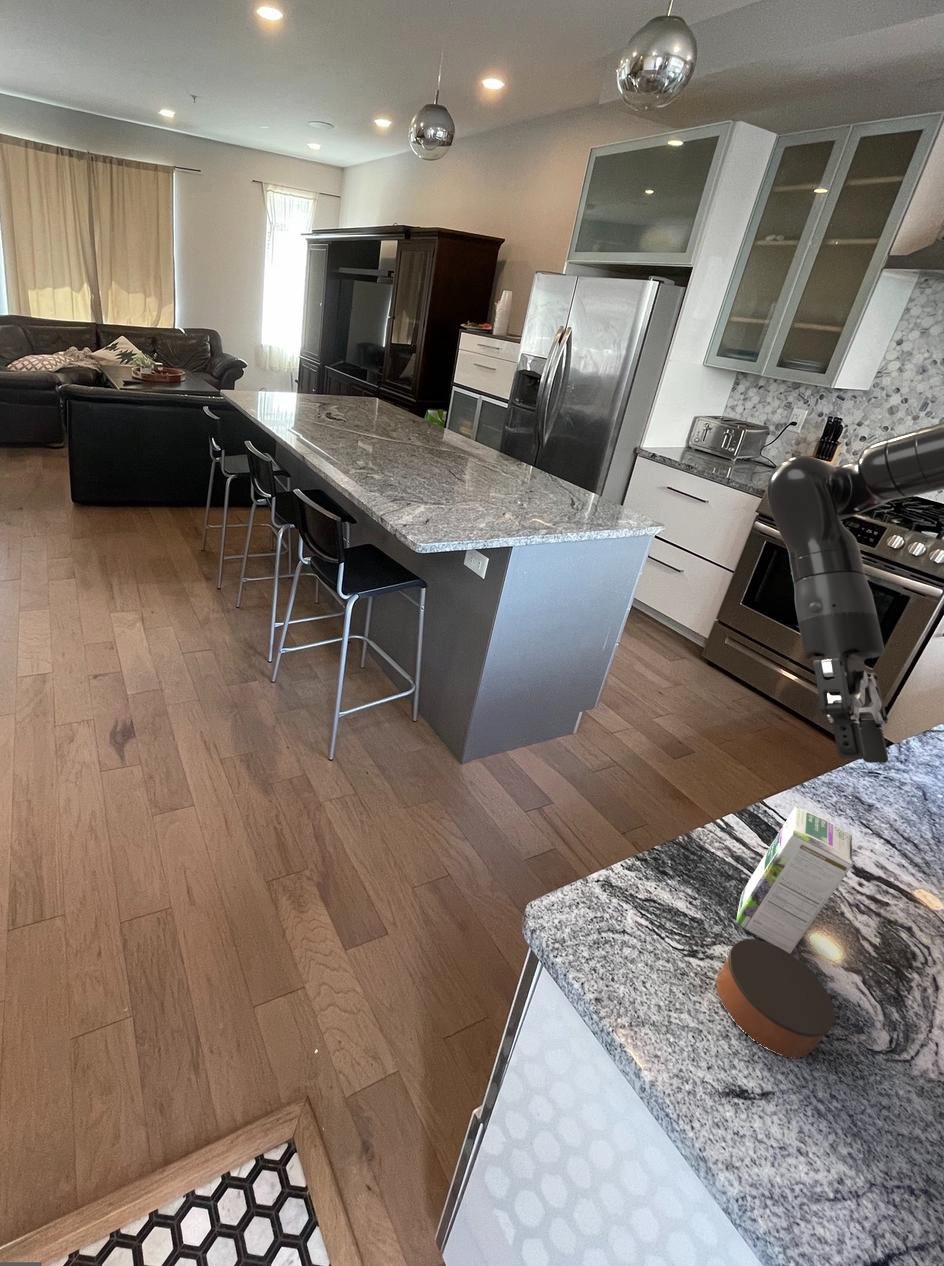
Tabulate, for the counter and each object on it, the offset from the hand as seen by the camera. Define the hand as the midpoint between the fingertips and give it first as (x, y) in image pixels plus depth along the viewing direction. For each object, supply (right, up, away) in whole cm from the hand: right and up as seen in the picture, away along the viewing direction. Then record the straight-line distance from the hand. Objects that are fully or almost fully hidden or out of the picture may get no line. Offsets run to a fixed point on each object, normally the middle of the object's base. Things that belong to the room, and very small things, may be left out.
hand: (864, 760), depth 69 cm
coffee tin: (-15, -23, -6) cm, 28 cm away
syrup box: (-9, -20, +4) cm, 22 cm away
